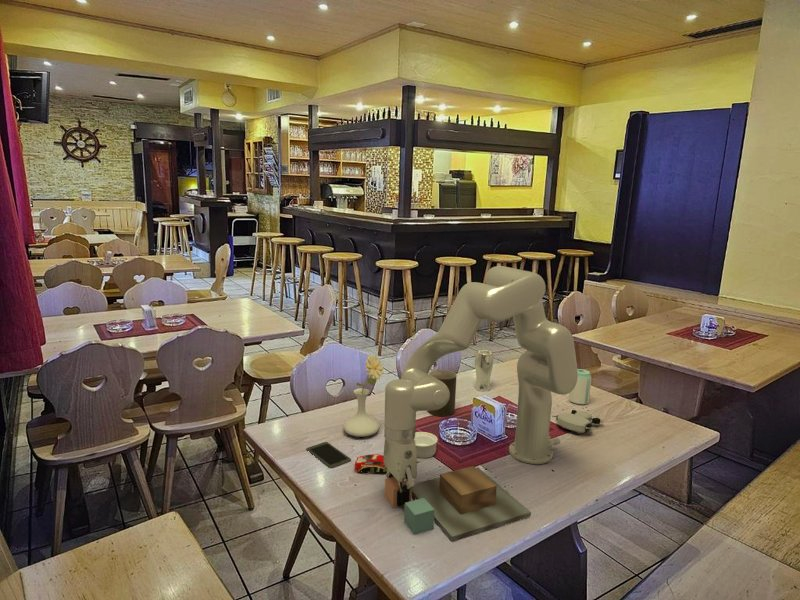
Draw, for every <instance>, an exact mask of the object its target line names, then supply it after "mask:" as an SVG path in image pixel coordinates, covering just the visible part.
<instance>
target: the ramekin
mask: <svg viewBox="0 0 800 600" xmlns="http://www.w3.org/2000/svg"><path fill="white" fill-rule="evenodd" d="M414 440H415V444H416V453H417V458H418V459H427V458H432V457H433V456H434V455H435V454H436V450H437V443H438V440H439V439H438V437H437V436H436V435H435V434H434V433H430V432H426V431H415V439H414Z"/></svg>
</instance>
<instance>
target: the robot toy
mask: <svg viewBox="0 0 800 600" xmlns="http://www.w3.org/2000/svg"><path fill="white" fill-rule="evenodd" d="M551 417H552V418H555V421H556V423H557V425H558V426H561V427H562V428H563V429H566V430H569V431H572V432H576V433H577V434H584V433H587V432H589V431H591V430H593V427H592V426H593V424H594V425H600V424H602V423H604V420H603V419H602V418H600V417H593V416H592V413H590V412H588V411H584V410H579V411H577V410H576V409H572V410H571V412H570V413H569V412H562V413H559V414H557V415H551ZM592 417H593V418H592Z"/></svg>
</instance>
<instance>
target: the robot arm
mask: <svg viewBox="0 0 800 600" xmlns="http://www.w3.org/2000/svg"><path fill="white" fill-rule="evenodd" d="M545 293H546V283H545V280H544V279H543V277H542V276H541V275H540V274H538V273H536V272H534V271H533V272H532V271H529V270H523V269H518V268H513V267H509V266H503V265H497V266H492V267H491V268H489V270H488V271H486V274H485V283H482V282H477V281H475V282H473V281H471V282H467V283H466V284H464V285H463V286H462V287H461V288H460V290H459V292H458V293H457V295H456V297H455V299H454V301H453V303H452V305H451V307H450V309H449V310H448V313H447V314H446V316H445V319H444V321H443V322H442V325H441V326H440V328H439V329H438V331H437V332H436V333H435V334H434V335H432V336H431V337H430V338H428V339H427V340H426V341H424V342H423V343H422V344H421V345H419V346H418V347H417V348H416V350H414V352H413V353H412V355H411V356H410V358H409V359H408V361H407V363H406V365H405V367H404V369H403V372H402V374H401V376H400V378H399V379H393V380H390V381H389V382H388V383H387V384H386V385H385V388H384V389H385V390H384V423H383V424H384V428H383V430H384V432H383V434H384V435H383V437H384V443H383V444H384V445H383V456H384V464H385V466H386V469H387V474H386V478H390V477H395V478H396V479H397V480H398V489H399V491H397V507H399V508H400V507H402V506H403V507H404V506H405V503H406V502H409V498H410V490H411V488H414V484H415V482H414V480H416V479H417V478H418V459H417V458H418V457H417V453H416V444H415V440H414V439H415V433H416V422H417V421H416V419H417V416H416V415H417V412H421V411H422V412H425V411H426V412H428V411H432V410H438V409H440V408H442V407H444V406H445V405H446V404H447V402H448V401H449V398H450V392H449V389H448V387H447V386H446V385H445V384H444V383H443V382H441V381H440V380H438V379H436V378H434V377H433V376H431V375H429V373H430V372H431V369H432V367H433V366H434V365H435V363H436V362H437V361H438V360H439V359H441V358H442V357H444V356H446V355H449V354H452V353H453V354H454V353H456V352H462V351H464V350H468V348H470V346H471V344H472V343H473V340H474V338H475V337H476V334H477V332H478V331H479V328H480V326H481V324H482V323H483V321H484V320H486V321H488V322H492V323H500V322H504V321H507V320H509V319H511V318H513V324H514V330H515V334H516V340H517V343H518V345H519V346H520V347H521V348H522V349H523V350H526V351H524V352H523V353H521V355H520V356H519V357H518V360H517V364H516V374H517V380H518V381H517V382H518V397H517V408H516V422H515V435H514V442H511V443H510V445H509V447H508V452H509V454H510V456H511V457H512V458H514V459H515V460H518V461H520V462H522V463H525V464H526V463H527V464H532V465H541V464H546V463H548V462H551V461H552V459H553V456H554V455H553V454H554V452H553V451H552V449H551V448H552V447H553V446H557V445H560V444H561V439H560V438H559V437H554V438H552V437H551V436H550V427H551V417H552V415H551V414H552V407H553V406H552V405H553V397H552V393H553V394H556V395H561V396H563V395H567V394H570V392H571V391H572V390H573V389H574V388H575V386H576V383H577V378H578V370H577V369H578V363H577V356H576V355H577V354H576V349H575V348H576V347H575V340H574V337H573V335H572V333H571V331H570V330H569V329H568V328H567V327H565V326H564V325H562V324H559V323H555V322H553V321H549V320H548V319H547V317H546V313H545V309H544V304H543V298H544V295H545ZM404 476H405V477H404ZM404 481H406V485H403V486H402V482H404Z"/></svg>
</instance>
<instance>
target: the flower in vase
mask: <svg viewBox="0 0 800 600" xmlns="http://www.w3.org/2000/svg"><path fill="white" fill-rule="evenodd" d="M364 365H365V369H366V374H367V376H366V379H365V382H364V384H361V383H359V382H357V383H356V386H358V387H360V388H356V389H354V390H353V393H354V394H355V396H356V398H357V411H356V413H355V415H353V416H351V417H350V418H348V419H347V420H346V421H345V422H344V425H343V427H342V428H343V430H344V431H345V433H346V434H348V435H349V436H353V437H361V438H362V437H369V436H373V435H375V434H376V433H378V431H379V429H380V425H379V422H378V421H377V420H375V418H374V417H372V416H370V415H369V414H368V413H367V412H366V400H367V397H368V395H369V394H370V392H371V391H370V389H367V388H366V385H367V383H368V384H369V385H371V386H373V385H374V384H376V383H377V381H378V380H380V379H381V377H383V374H384V371H383V370H384V367H383V363H381V360H380V359H379V358H378V357H377V356H376V355H374V354H373V355H370V354H369V355H368V356H367V359H365V364H364ZM361 387H362V388H361Z"/></svg>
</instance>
